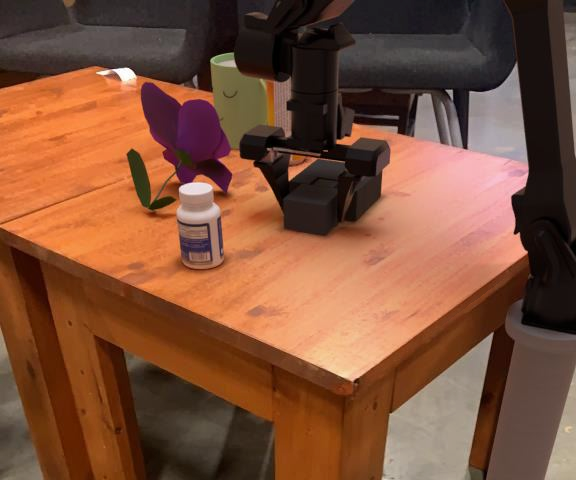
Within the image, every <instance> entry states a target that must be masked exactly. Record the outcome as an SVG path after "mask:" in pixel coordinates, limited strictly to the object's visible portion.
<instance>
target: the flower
mask: <svg viewBox="0 0 576 480" xmlns="http://www.w3.org/2000/svg"><path fill="white" fill-rule="evenodd" d="M140 88H141V89H140V103H141V107H142V111H143V115H144V119H145V120H146V122H147V125H148V127H149V128H148V129H149V134H150V135H151V137H152V138H153V140H154V141H155V143H158V144H159V145H160V146H162V147H163V148H164V150H162V151H161V153H162V156H163V159H164V160H165V161H166V162H168V163H170V164H171V165H172V166H173V167H174V170H175V171H174V172H173V173H172V174H171V175H170V176H168V178H167V179H166V180H165V181H164V182H163V184H162V186H161V188H160V189H159V191H158V193H157V195H156V196H155V198H154V199H153V200H152V190H151V189H152V188H151V182H150V181H151V180H150V177H149V175H148V172H147V167H146V164H145V162H144V160H143V158H142V156H141V154H140V152H139V151H138V150H135V149H134V148H133V147H132V148H130V149H129V151H127V152H126V158H127V161H128V166H129V171H130V175H131V178H132V182H133V186H134V190H135V193H136V195H137V198H138V200H139V202H140V204H141V206H142V207H143V208H146V209H148V211H151V212H154V213H157V211H156V210H160V209H163V208H166V207H168V206H171V205H172V204H174V203H176V202H177V199H176V198H175V197H174V196H163V197H160V195H161V194H162V191H163V190H164V188H165V187H166V184H167V183H168V182H171V179H172V178H173V177H174V176H175V175H176V177H177V179H178V181H179V183H181V184H188V183H194V180H195V179H196V178H197V176H204V177H206V178H208V179H210V180H211V181H212V182H213V183H214V184H215V185H216V186H217V187H218V188H220V190H221V191H222V192H223V193H224V194H228V190H229V187H230V184H231V182H232V179H233V173H232V172H231V171H230V169H229V168H228V167H227V166H226V165H225V163H223V162H222V161H221V160H220V159H223V158H225V157H228V156H230V153H231V151H232V148H231V147H230V144H229V142H228V139H227V137H226V134H225V133H224V131H223V130H222V128H221V126H220V121H219V116H218V114H217V112H216V110H215V108H214V104H212V103H210V101H208V100H205V99H201V98H197V99H196V98H195V99H188V100H186V101H184V102H183V103H182V104H181V103H180V102H179V101H178V99H176V98H175V97H173V96H171V95H170V94H168V93H166V92H165V91H164V90H163V89H161V88H160V87H159V86H157V85H156V84H155V83H154V82H151V81H145V82H143V84H142V85H141V87H140ZM159 197H160V198H159Z"/></svg>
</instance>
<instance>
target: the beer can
mask: <svg viewBox="0 0 576 480" xmlns="http://www.w3.org/2000/svg"><path fill="white" fill-rule="evenodd" d="M266 84H267V116H268V126H275V127H282V128H283V130H284V132H285V137H289V136H290V135H291V111H287V109H286V101H288V100H289V99H291V77H290V78H289V79H288V80H287V81H285V82H275V81H270V80H266ZM306 158H307V157H306V156H299V155H291V157H290V162H289V166H295V165H299V164H302V163H303V162H304V159H306Z"/></svg>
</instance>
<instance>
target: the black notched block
mask: <svg viewBox="0 0 576 480" xmlns="http://www.w3.org/2000/svg"><path fill="white" fill-rule="evenodd" d="M345 169H346V168H345V162H342V161H335V160H328V159H320V158H316V159H315V160H314V161H312V162H311V163H310V164H309V165H307V167H305V168H304V169H302V170H301V171H300V172H299V173H297V174H296V175H295V176H293V177H292V178H291V179H289V194H290V193H291V192H292V191H293V190H295V189H296V188H297V187H298V186H300V185H301V184H308V185H313V184H314V183H315V182H317V181H318V180H319V179H324V180H331V181H338V175H339V174H340V173H341V172H343V171H344V170H345ZM383 170H384V169H383ZM383 170H382V171H381V172H380V173H379V174H378V175H377V176H374V177H365V178H364V179H363V180H362V181H360V182H359V183H358V185H357V187H356V189H355V192H354V194H353V197H352V199H351V202H350V205H349V208H348V210H347V213H346V216H345V218H344V220H347V221H353V222H357V221H358V220H359V219H360V218H361V217H362V216H363V215H364V214H365V213H366V212H367V211H368V210H369V209H370V208H371V207H372V206H373V204H375V203H376V202H377V201H378V200H379V199H380V198H381V197H382V186H383V184H382V183H383V172H384V171H383ZM337 189H338V188H337Z"/></svg>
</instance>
